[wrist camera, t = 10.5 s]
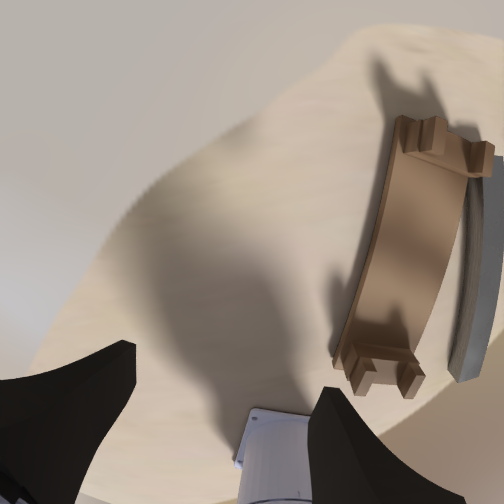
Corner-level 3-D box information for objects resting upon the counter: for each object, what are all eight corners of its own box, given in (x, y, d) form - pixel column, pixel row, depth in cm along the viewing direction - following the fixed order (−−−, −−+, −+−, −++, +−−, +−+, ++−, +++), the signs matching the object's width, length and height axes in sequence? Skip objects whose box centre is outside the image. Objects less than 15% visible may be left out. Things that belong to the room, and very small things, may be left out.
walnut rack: (398, 369, 21) (417, 404, 16) (331, 361, 21) (341, 400, 17) (465, 146, 17) (502, 142, 12) (396, 117, 17) (426, 103, 12)
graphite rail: (466, 362, 21) (478, 376, 18) (446, 368, 21) (457, 383, 19) (484, 157, 17) (503, 156, 14) (462, 155, 17) (480, 154, 15)
